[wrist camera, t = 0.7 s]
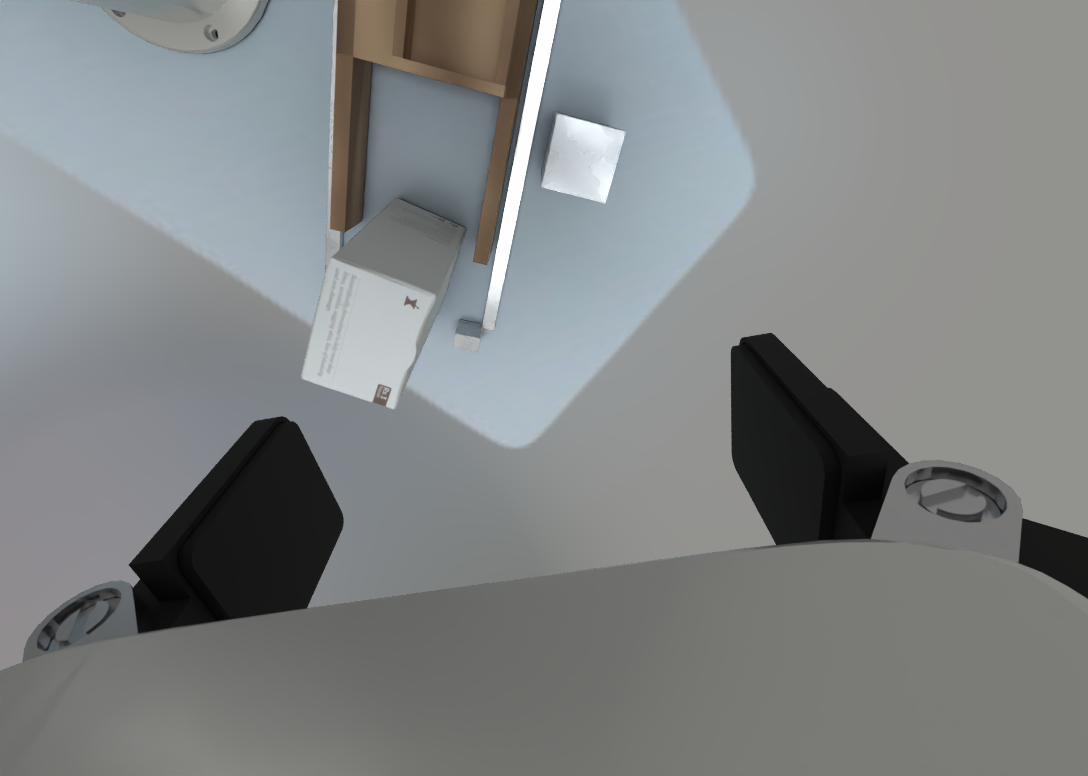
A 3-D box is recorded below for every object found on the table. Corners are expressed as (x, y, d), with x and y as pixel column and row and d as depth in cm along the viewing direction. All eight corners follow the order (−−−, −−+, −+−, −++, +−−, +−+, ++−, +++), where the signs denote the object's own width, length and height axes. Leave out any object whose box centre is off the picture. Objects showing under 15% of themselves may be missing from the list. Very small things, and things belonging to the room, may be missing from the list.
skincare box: (396, 195, 39) (323, 243, 26) (472, 229, 40) (439, 291, 27) (367, 294, 42) (291, 379, 29) (438, 322, 44) (394, 416, 31)
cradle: (348, 217, 39) (319, 235, 34) (364, -91, 31) (328, -131, 25) (491, 250, 40) (484, 273, 35) (544, -36, 32) (545, -63, 27)
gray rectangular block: (541, 171, 38) (541, 187, 31) (554, 111, 36) (557, 113, 29) (593, 184, 38) (605, 203, 31) (609, 126, 36) (625, 131, 29)
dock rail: (327, 304, 43) (313, 317, 40) (341, -97, 31) (322, -116, 28) (491, 339, 44) (488, 354, 42) (566, -29, 32) (568, -40, 30)
